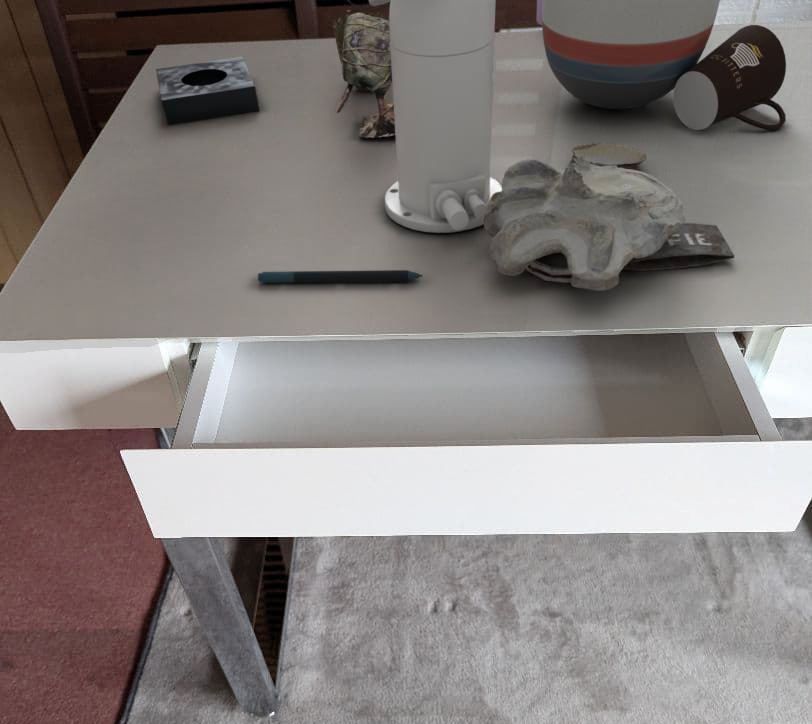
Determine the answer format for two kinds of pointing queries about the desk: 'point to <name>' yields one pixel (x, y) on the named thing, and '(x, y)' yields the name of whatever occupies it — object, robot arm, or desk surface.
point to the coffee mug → (733, 80)
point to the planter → (624, 46)
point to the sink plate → (206, 90)
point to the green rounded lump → (340, 36)
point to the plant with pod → (369, 69)
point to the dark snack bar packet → (663, 253)
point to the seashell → (610, 155)
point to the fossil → (579, 218)
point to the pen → (338, 276)
